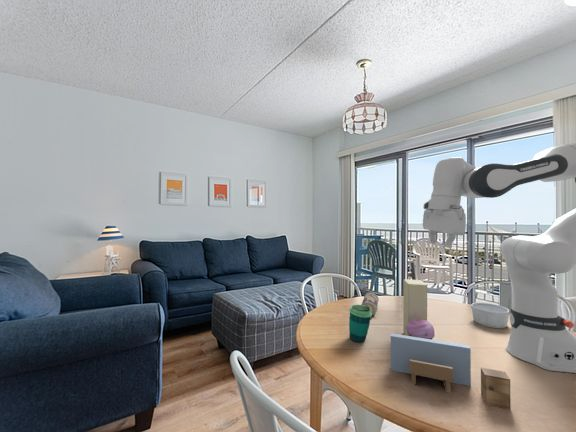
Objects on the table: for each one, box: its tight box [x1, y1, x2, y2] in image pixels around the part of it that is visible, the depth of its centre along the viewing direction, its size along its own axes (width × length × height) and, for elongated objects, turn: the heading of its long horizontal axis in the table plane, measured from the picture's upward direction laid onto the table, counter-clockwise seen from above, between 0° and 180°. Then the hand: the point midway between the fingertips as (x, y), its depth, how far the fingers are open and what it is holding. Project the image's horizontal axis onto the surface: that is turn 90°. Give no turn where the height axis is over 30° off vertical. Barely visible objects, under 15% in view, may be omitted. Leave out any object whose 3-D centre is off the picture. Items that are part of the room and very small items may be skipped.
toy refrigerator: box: [402, 278, 428, 336], centre depth 101 cm, size 8×7×21 cm
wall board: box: [390, 333, 472, 393], centre depth 74 cm, size 20×8×10 cm, turn 67°
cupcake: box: [406, 319, 435, 340], centre depth 93 cm, size 9×9×10 cm
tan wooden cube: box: [480, 367, 512, 410], centre depth 65 cm, size 5×4×7 cm
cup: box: [348, 304, 373, 344], centre depth 99 cm, size 8×8×12 cm
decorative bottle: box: [361, 291, 380, 316], centre depth 129 cm, size 26×8×7 cm, turn 158°
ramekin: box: [470, 302, 510, 329], centre depth 115 cm, size 13×13×7 cm
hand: (439, 245), depth 92 cm, fingers open, 8 cm apart
